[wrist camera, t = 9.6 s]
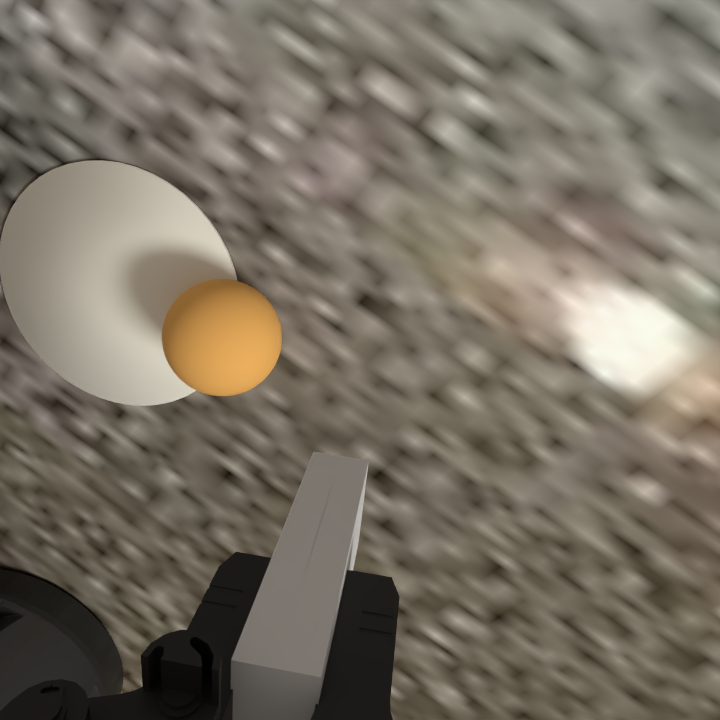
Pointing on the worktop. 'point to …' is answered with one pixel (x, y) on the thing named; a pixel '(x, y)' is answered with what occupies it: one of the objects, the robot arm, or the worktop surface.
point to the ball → (221, 337)
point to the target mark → (106, 274)
